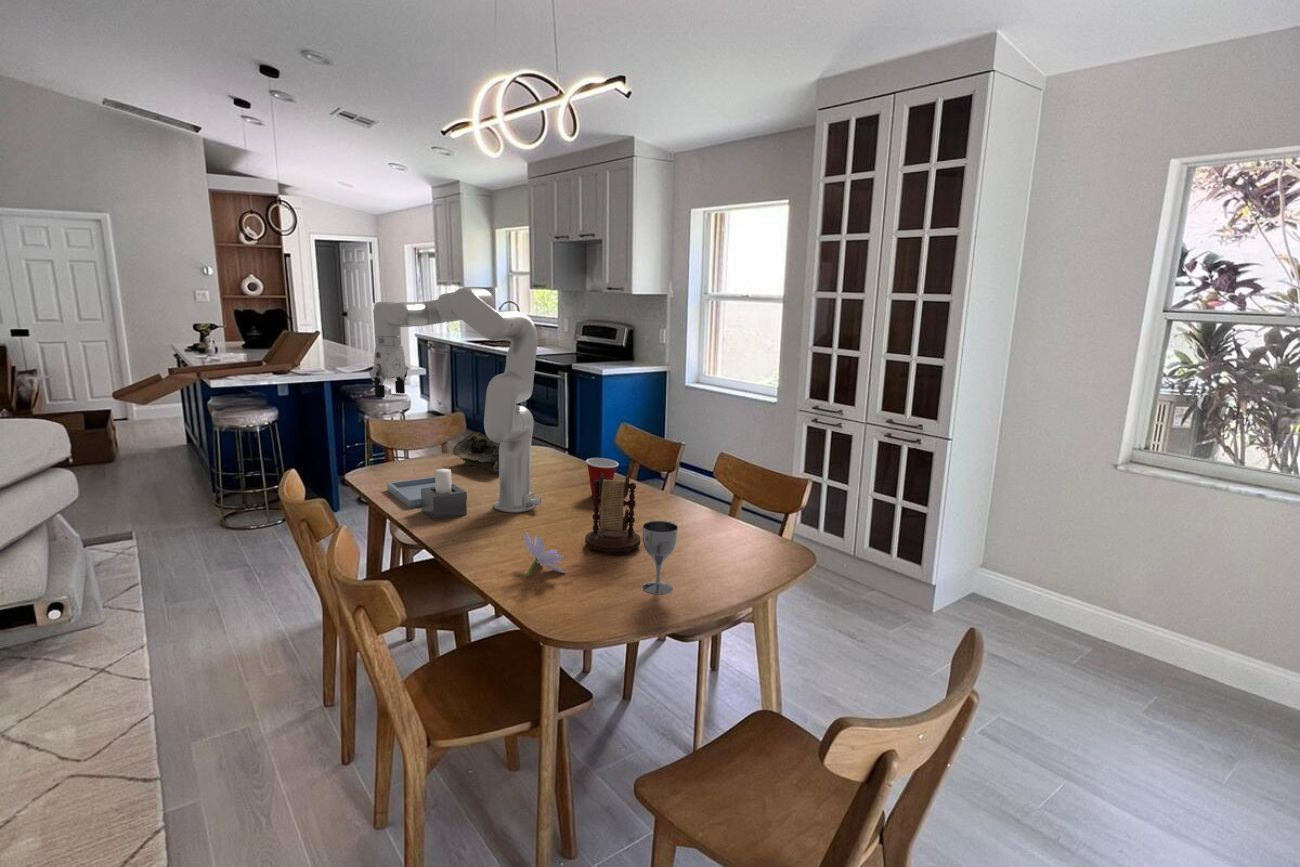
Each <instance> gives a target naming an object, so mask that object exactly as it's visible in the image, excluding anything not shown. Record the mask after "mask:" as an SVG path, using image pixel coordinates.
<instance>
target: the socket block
mask: <svg viewBox="0 0 1300 867" xmlns="http://www.w3.org/2000/svg"><path fill="white" fill-rule="evenodd" d="M454 484H455V483H453V484H451V492H449V493H443V494H436V488H435V487H428V488H421V507H420V508H421V512H422V513H423V514H425V515H426V516H428V517H429V518H430V519H431V520H433V521H439V520H443V519H450V518H454V517H459V516H460V517H461V516H466V515H467V514H468V512H467V507H468V506H467V499H466V492H467V491H466V490H465V489H463V488H461V487H460V486H458V485H457V484H455V485H454ZM456 485H457V486H458V487H457V486H456ZM459 487H460V488H459ZM462 489H463V490H462ZM464 490H465V491H466V492H465V491H464Z"/></svg>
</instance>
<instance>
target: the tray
mask: <svg viewBox="0 0 1300 867" xmlns="http://www.w3.org/2000/svg"><path fill="white" fill-rule="evenodd" d="M386 484H387V485H386V486H387V488H386V489H387V491H388V492H389V493H391V494H392V496H394V497H395V498H396V499H398V500H399V501H400V502H401V503H403V504H404V505H406V506H407V507H408V508H409V509H416V508H421V488H428V487H435V476H430V477H423V478H422V477H421V478H414V479H408V480H399V481H392V482H391V481H389V482H387V483H386ZM451 484H454V485H456V486H457V487H459V488H461V487H460V486H459V485H457V484H455V483H453V481H451ZM461 489H462V490H464V491H465V492H466V500H467V499H468V492H467V491H466V490H465V489H463V488H461Z"/></svg>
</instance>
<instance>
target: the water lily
mask: <svg viewBox="0 0 1300 867" xmlns="http://www.w3.org/2000/svg"><path fill="white" fill-rule="evenodd" d="M522 536H523V539H524V544H525V546H526V548H527V550H528V552H529V553H530V554H531V555H532V556H533V558H532V559H533V562H532V564H531V565H530V567H529V569H528V571H527V573H526V575H525V576H526V577H530V575H531V572H532V570H533V568H534V567H535V565H536V563H537V564H542V565H544V566H546V568H549V569H551V570H552V571H555V572H558V573H562V574H566V571H564V570H563V568H561V567H560V566H557V565H559V564H563V562H561V561H560V560H562V559H564V558H565V556H564V555H561V554H559V553H558V551H559V550H558V549H554V548H553V549H549V550H545V547H546V544H545V541H544V539H543V538H542V537H538V534H535V536H534V542H533V541H532V539H531V536H530V534H529V533H528V532H526V534H525V533H524V532H523V531H522ZM556 564H557V565H556Z"/></svg>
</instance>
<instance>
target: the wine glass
mask: <svg viewBox="0 0 1300 867" xmlns="http://www.w3.org/2000/svg"><path fill="white" fill-rule="evenodd" d="M678 529H679V528H678V525H677V524H676V523H674V522H672V521H667V520H651V521H650V520H649V521H646V522H645V523H643V525H642V541H643V547H644V550H645V551H646V553H647V554H648V555H649V556H650V557H651V559H652V561H653V562H654V564H655V570H656V574H655V575H656V580H651V581H648V582H645V583H644V584H642V586H641V587H642V590H643V591H644V592H646V593H648V594H651V595H665V594H669V593H671V592H672V591H673V590H674V587H673V585H671V584H670V583H668V582H664V581H662V580H660V579H661V578H660V577H661V576H660V575H661V569H662V565H663V563H664V562H665V561H666V559H667V558H668V557H669V556H670V555H672V553H674V550H675V548H676V544H677V540H678V532H679V531H678Z"/></svg>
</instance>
